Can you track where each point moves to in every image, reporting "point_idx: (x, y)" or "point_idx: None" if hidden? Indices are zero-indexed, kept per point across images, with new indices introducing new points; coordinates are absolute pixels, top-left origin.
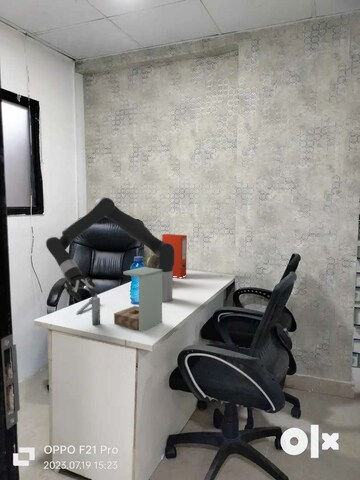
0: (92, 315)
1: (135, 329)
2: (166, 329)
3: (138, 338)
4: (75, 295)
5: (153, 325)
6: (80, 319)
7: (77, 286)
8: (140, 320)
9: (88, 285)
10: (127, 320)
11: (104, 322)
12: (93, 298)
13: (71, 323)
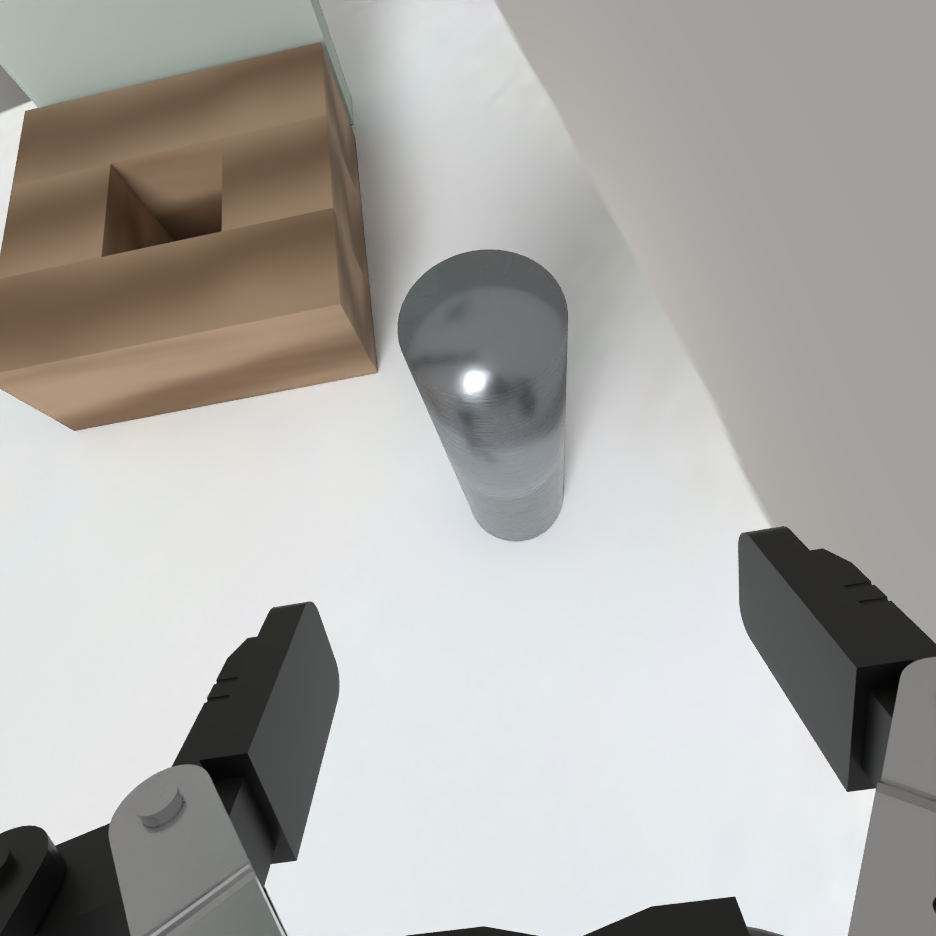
0: (563, 457)
1: (354, 149)
2: None
3: (460, 27)
4: (918, 649)
5: None
6: (577, 804)
7: (910, 851)
8: (319, 15)
9: (235, 872)
10: (341, 170)
11: (421, 474)
12: (517, 347)
13: (755, 744)
